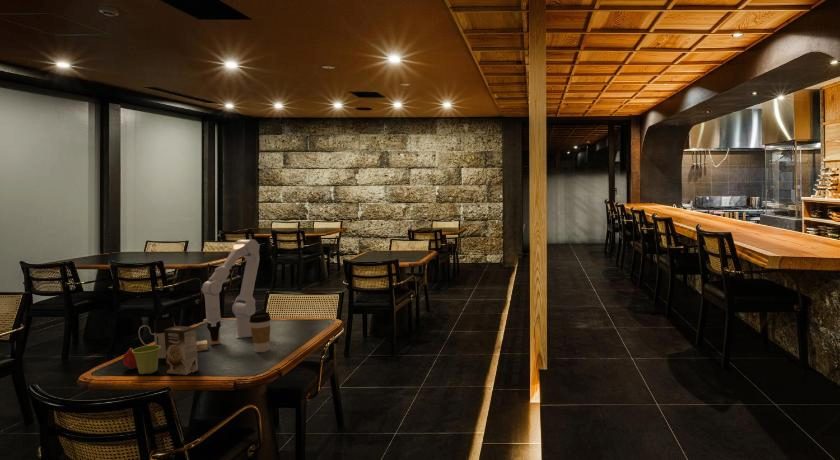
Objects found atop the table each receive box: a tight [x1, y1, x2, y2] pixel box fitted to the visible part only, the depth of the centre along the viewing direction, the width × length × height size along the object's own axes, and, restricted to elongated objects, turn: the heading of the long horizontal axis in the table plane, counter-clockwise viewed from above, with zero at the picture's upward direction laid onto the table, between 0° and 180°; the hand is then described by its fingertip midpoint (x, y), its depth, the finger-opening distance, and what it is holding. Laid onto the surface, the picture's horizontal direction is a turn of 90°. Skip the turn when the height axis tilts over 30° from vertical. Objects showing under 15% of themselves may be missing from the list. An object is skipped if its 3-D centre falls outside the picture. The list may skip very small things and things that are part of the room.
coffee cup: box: [249, 311, 272, 353], centre depth 219 cm, size 8×8×15 cm
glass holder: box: [137, 316, 176, 359], centre depth 216 cm, size 9×14×15 cm, turn 135°
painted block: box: [208, 331, 221, 345], centre depth 232 cm, size 4×4×5 cm
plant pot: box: [132, 344, 161, 375], centre depth 196 cm, size 9×9×9 cm
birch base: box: [196, 339, 209, 352], centre depth 225 cm, size 6×6×3 cm
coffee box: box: [164, 325, 199, 376], centre depth 195 cm, size 9×6×16 cm
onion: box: [122, 347, 137, 370], centre depth 201 cm, size 6×6×8 cm
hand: (214, 339), depth 232 cm, fingers closed on painted block, 4 cm apart
